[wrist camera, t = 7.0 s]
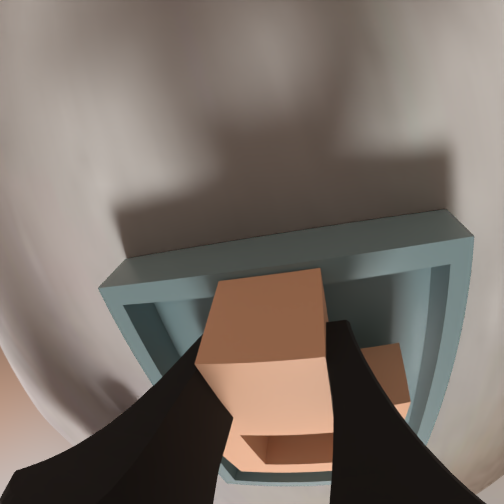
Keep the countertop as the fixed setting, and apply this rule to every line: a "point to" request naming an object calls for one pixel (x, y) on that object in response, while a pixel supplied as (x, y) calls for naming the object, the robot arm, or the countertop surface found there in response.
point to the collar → (281, 371)
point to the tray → (336, 296)
